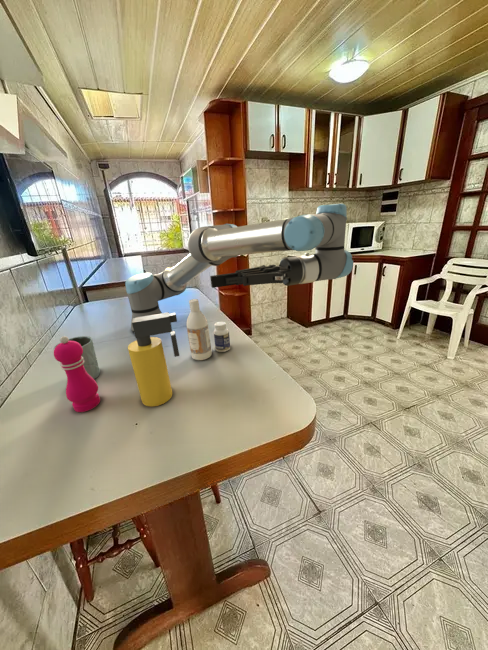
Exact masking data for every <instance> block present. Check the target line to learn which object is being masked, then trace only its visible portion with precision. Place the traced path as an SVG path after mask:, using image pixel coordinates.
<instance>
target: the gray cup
mask: <svg viewBox="0 0 488 650" xmlns="http://www.w3.org/2000/svg"><path fill="white" fill-rule="evenodd" d="M68 339H69V341H76V342H78V343H79V344H80V345H81V346H82V348H83V353H82V355H81V356H82V357H83V360H84V364H83V365H84V368H85V370H86V372H87V373H88V374H89V375H90V376H91V377H92V378H93V379H94V380H96V378H98V377H99V376H100V374H101V370H100V367H99V363H98V359H97V354H96V350H95V345H94V340H93V338H92V337H91V336H90V335H89V336H88V335H79V336H75V337H71V338H68ZM60 343H61V342H60V341H59V343H57V344H56V345H54V346H53V350H54V349H55V347H56V346H57V345H58V344H60ZM60 363H61V362H59V364H60ZM63 371H64V372H65V370H63Z"/></svg>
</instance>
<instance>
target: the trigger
mask: <svg viewBox="0 0 488 650" xmlns="http://www.w3.org/2000/svg"><path fill="white" fill-rule="evenodd" d="M169 333H170V339H171V340H170V341H171V344H172V350H173V356H174V357H175V358H176V357H180V351H179V346H178V345H179V344H178V340H177V334H176V331H175V330H172V332H169Z"/></svg>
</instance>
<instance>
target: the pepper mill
mask: <svg viewBox="0 0 488 650" xmlns="http://www.w3.org/2000/svg"><path fill="white" fill-rule="evenodd" d="M69 339H70V338H69V337H68V336H65V335H63V336H61V337H60V338H59V343H60V342H61V343H60V344H59V343H57V344H58V345H57V344H56V345H57V346H56V345H55V346H56V347H55V346H54V347H55V349H54V348H53V357H54V359H55V360H56V361H57V362H58V363H59V365H60V367H61V370H63V371H64V370H65V371H64V373H65V376H66V379H67V381H66V382H67V383H66V387H65V395H66V399H67V400H68V401H69V402H71V403H72V404H71V405H72V409H73V410H74V412H77V413H85V412H88V411H91V410H93V409H95V408H96V407H97V406H98V405H99V404H100V402H101V397H100V395H99V393H98V391H99V385H98V382H97V381H96V379H93V378H92V377H91V376H90V375H89V374H88V373H87V372H86V370H85V368H84V365H83V364H84V360H83V357H82V356H81V355H82V353H83V348H82V346H81V345H80V344H79V343H78V342H76V341H69ZM60 362H61V363H60Z"/></svg>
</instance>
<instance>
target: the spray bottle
mask: <svg viewBox="0 0 488 650" xmlns="http://www.w3.org/2000/svg"><path fill="white" fill-rule="evenodd" d="M131 320H132V319H131ZM177 322H178V318H177V314H176V312H171V313H169V312H168V311H167V312H162V313H161V314H155V315H148V316H142V317H136V318H133V320H132V326H133V330H134V332H133V333H134V334H133V335H134V337H135V339H136V340H134V341H132V342H130V343H129V344H128V345H127V350H128V354H129V355H128V356H129V358H130V362H131V366H132V369H133V373H134V376H135V381H136V384H137V388H138V392H139V397H140V400H141V403H142V404H143V406H146V407H158V406H161V405H164V404H165V403H167V402H168V401H169V400H171V398H172V397H173V389H172V384H171V380H170V379H171V378H170V375H169V370H168V365H167V360H166V355H165V351H164V346H163V342H162V339H161V338H160V337H156V335H162V334H167V333H168V334H169V333H170V332H172V331H173V328H172V323H177Z"/></svg>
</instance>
